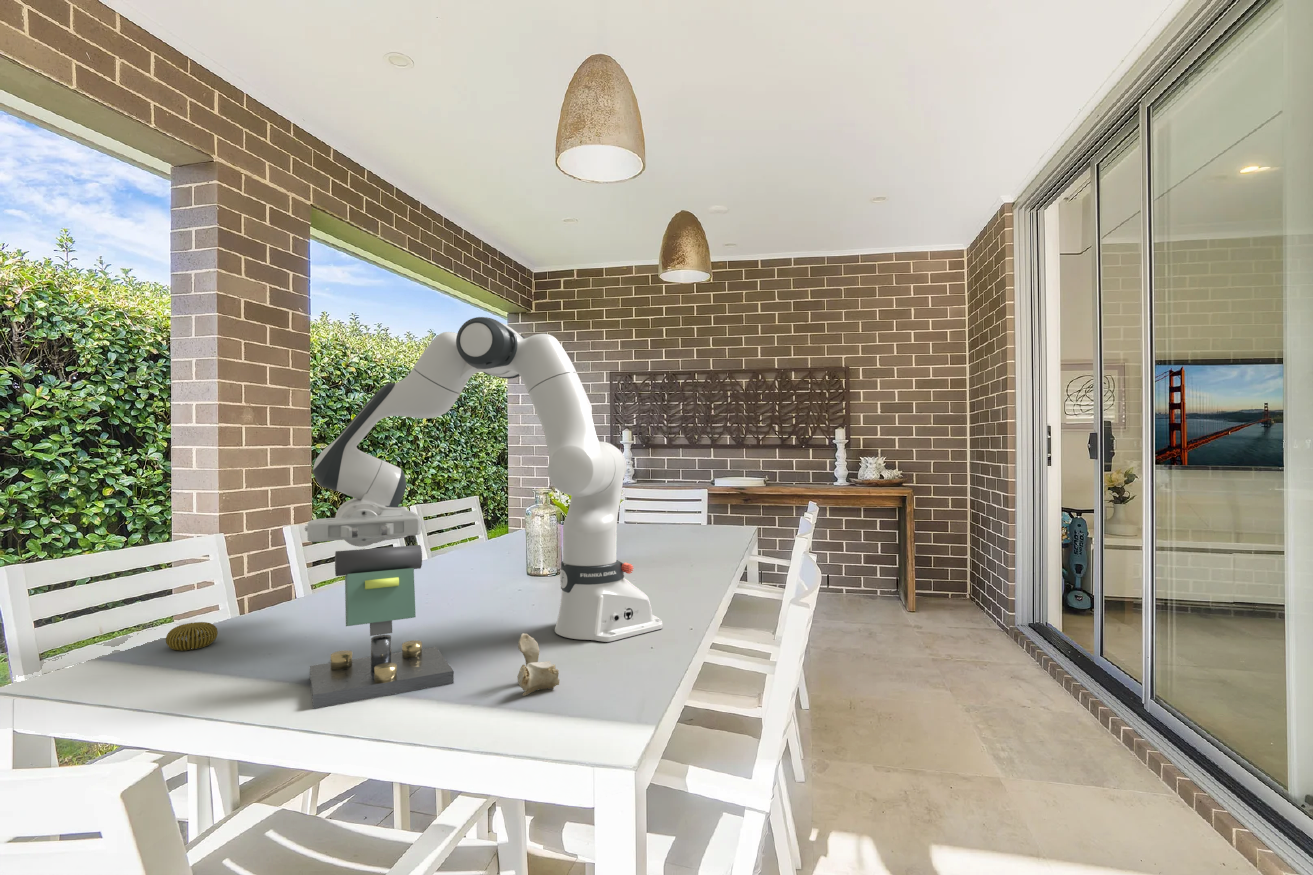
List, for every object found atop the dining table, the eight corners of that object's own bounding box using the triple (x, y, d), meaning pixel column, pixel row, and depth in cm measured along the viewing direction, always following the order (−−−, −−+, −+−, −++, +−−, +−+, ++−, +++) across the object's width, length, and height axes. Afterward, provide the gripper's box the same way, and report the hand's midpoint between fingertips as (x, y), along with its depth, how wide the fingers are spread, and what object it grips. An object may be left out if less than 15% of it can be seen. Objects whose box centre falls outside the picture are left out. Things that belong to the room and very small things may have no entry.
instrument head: (420, 628, 110) (417, 546, 113) (426, 628, 105) (423, 542, 108) (335, 640, 104) (334, 553, 107) (338, 640, 99) (337, 548, 102)
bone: (558, 691, 96) (526, 632, 98) (522, 712, 97) (490, 653, 98) (571, 674, 105) (541, 620, 106) (538, 694, 105) (508, 640, 106)
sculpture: (176, 621, 125) (223, 618, 127) (176, 642, 125) (223, 638, 127) (157, 633, 117) (208, 629, 120) (157, 655, 117) (208, 651, 120)
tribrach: (435, 657, 116) (436, 618, 116) (453, 683, 104) (453, 639, 104) (309, 677, 106) (310, 635, 106) (313, 708, 94) (313, 660, 94)
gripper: (304, 511, 126) (306, 518, 115) (414, 506, 137) (426, 512, 125) (304, 543, 126) (306, 554, 114) (413, 535, 137) (426, 545, 125)
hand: (369, 532), depth 120 cm, fingers open, 4 cm apart
